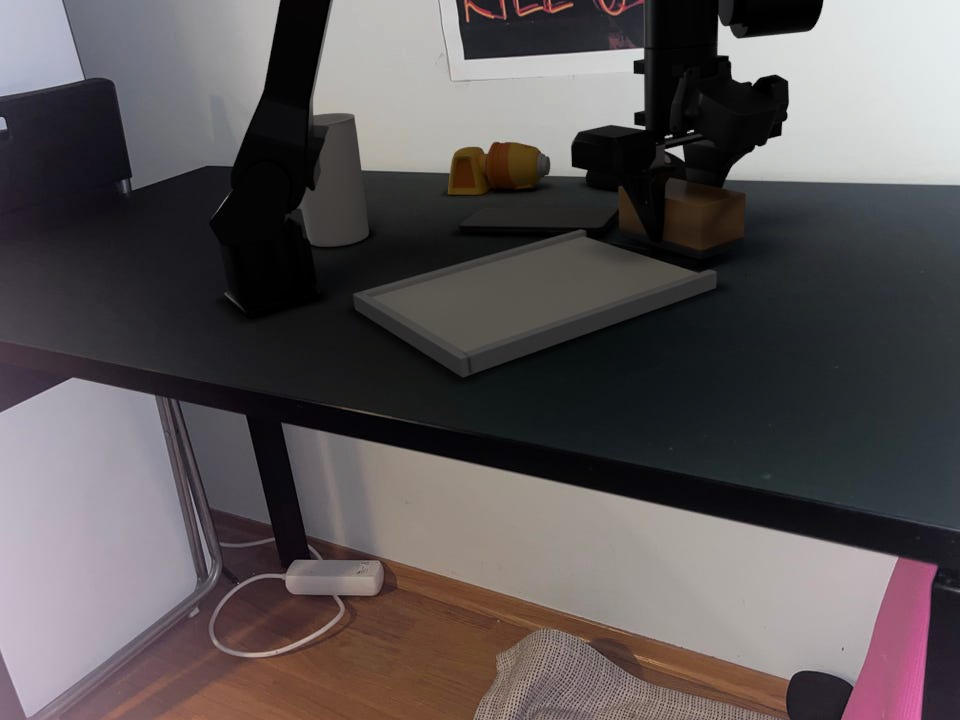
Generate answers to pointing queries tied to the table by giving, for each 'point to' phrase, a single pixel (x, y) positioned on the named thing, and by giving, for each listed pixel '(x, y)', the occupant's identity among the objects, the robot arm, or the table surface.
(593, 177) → the computer mouse
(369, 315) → the grey tray
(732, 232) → the eraser
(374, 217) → the table surface
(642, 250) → the mark
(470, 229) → the smartphone
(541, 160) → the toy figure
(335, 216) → the mug
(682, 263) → the mark
